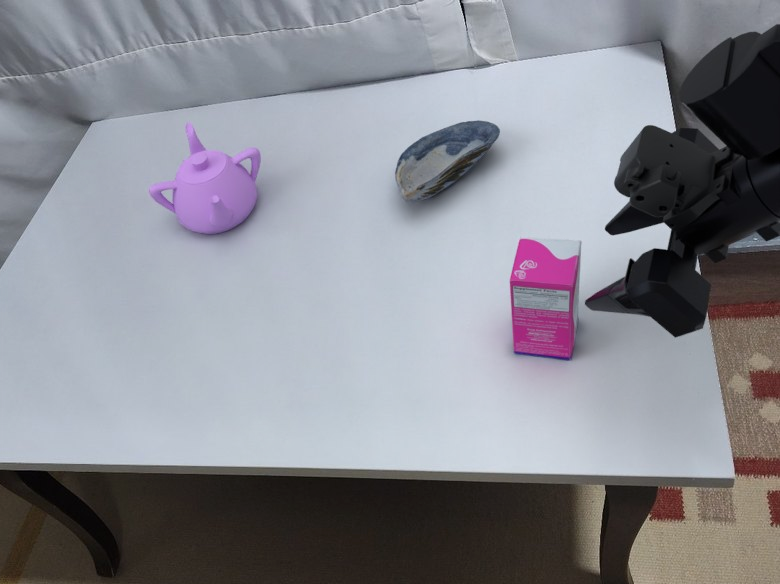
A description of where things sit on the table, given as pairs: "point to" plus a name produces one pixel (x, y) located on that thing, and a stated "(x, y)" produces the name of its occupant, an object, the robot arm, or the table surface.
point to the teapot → (211, 188)
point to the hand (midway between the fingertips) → (598, 267)
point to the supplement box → (545, 297)
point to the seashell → (442, 158)
